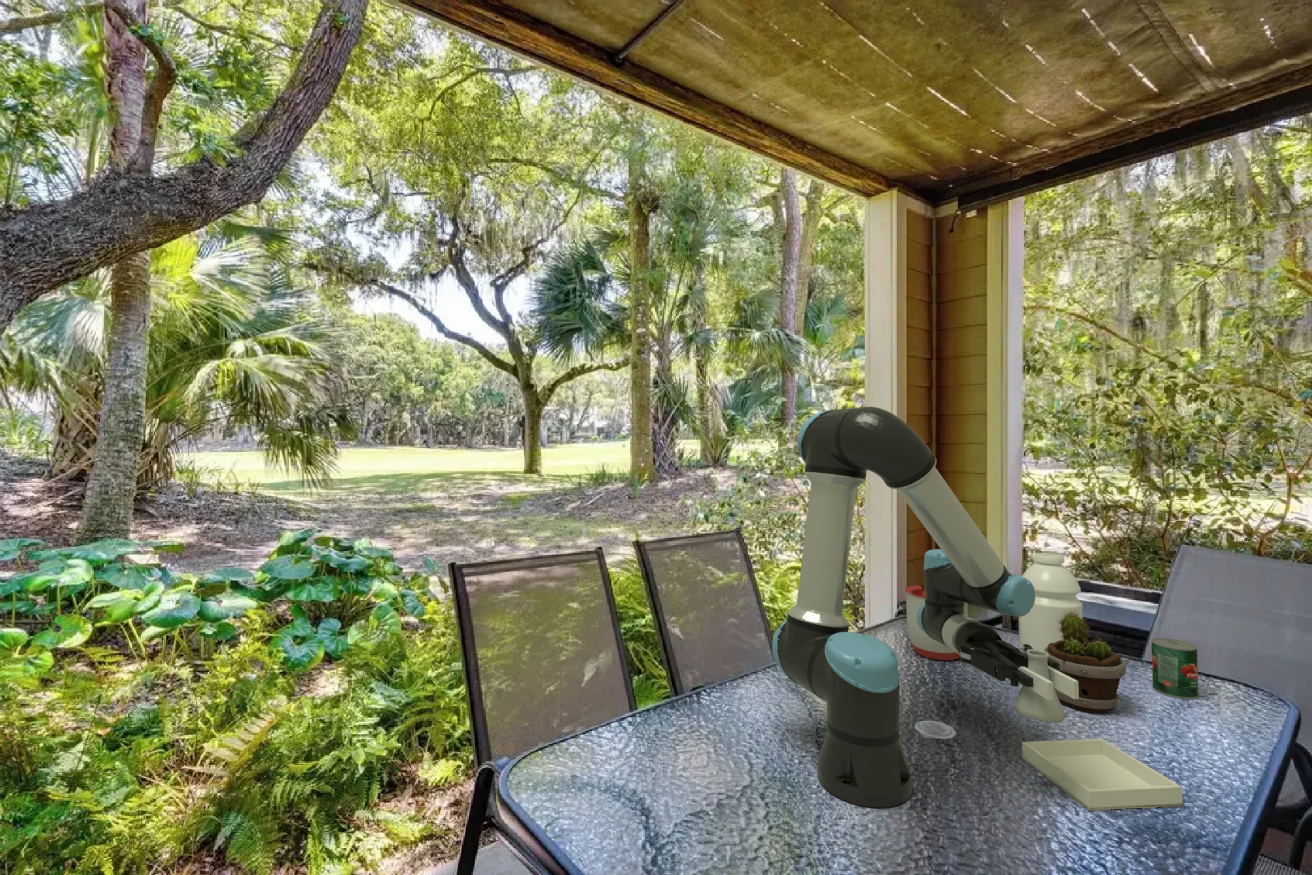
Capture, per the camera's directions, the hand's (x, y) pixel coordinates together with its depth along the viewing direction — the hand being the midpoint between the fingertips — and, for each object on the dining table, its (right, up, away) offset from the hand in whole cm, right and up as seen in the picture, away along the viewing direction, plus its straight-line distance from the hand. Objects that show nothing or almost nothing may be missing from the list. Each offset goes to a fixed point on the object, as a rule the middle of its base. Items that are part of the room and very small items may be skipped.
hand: (1063, 690), depth 90 cm
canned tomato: (+55, -19, +43) cm, 73 cm away
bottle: (+39, -20, +61) cm, 75 cm away
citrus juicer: (+14, -20, +69) cm, 74 cm away
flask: (0, -6, +5) cm, 8 cm away
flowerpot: (+31, -19, +37) cm, 52 cm away
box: (+11, -19, +8) cm, 23 cm away
